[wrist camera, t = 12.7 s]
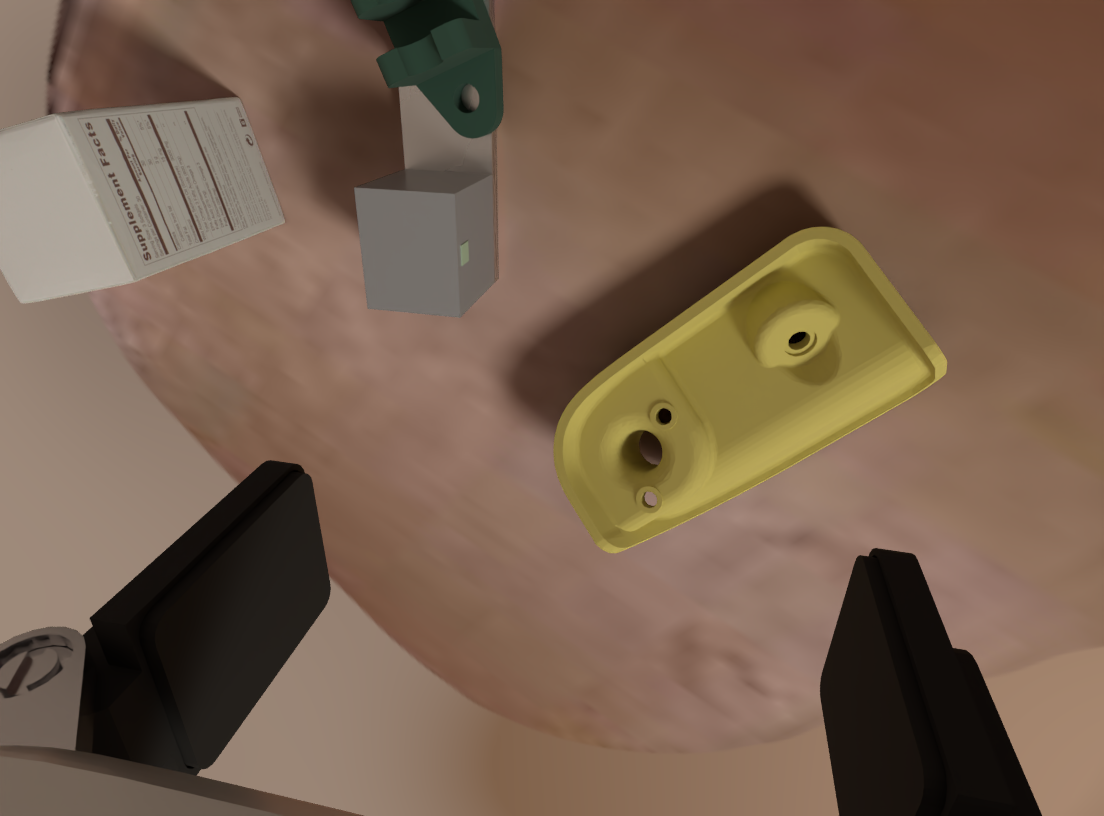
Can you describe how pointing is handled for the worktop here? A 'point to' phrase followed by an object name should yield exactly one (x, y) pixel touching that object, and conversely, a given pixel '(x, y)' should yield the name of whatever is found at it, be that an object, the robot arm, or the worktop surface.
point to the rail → (447, 140)
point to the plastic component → (742, 387)
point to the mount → (443, 56)
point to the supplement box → (127, 193)
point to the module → (426, 240)
